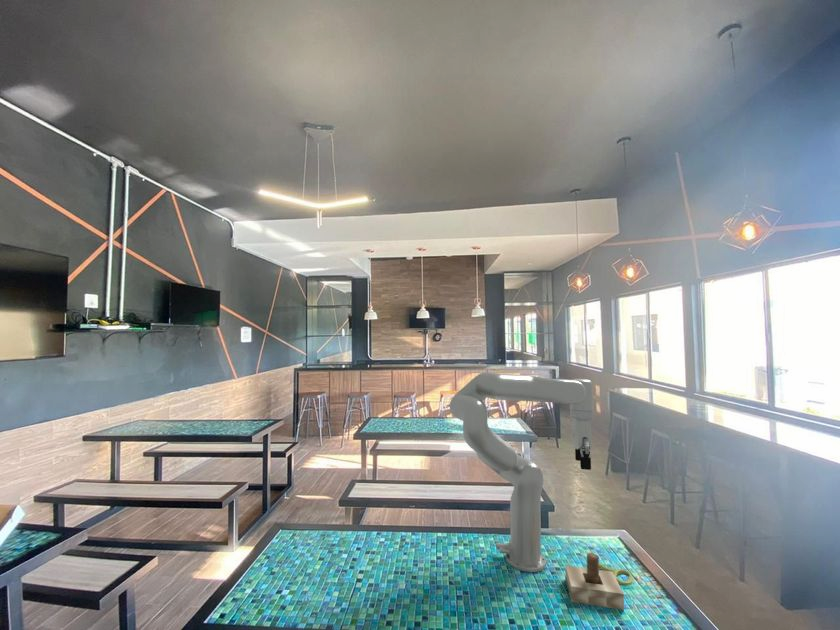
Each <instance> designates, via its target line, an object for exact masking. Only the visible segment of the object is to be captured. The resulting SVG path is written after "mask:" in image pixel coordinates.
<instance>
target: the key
mask: <svg viewBox="0 0 840 630" xmlns="http://www.w3.org/2000/svg"><path fill="white" fill-rule="evenodd" d="M599 570H603V571H610V572H613V573H614V575H615V578H616V580H617V582H618V584H619V585H623V586H629V584H630V585H632V583H633V582H634V577H633V575H632V573H631V572H630V571H628V570H627V569H626V570H625V569H622V568H621V569H620V568H618V569H616V570H615V569H614V568H609V567H608V566H605V565H604V564H601V563H599ZM624 573H625V575H627V574H628V575H629V576H628V575H627V576H628V577H630V578H628V580H627V581H625V580H620V579H619V578H618V576H619V575H620V574H624ZM632 581H633V582H632Z"/></svg>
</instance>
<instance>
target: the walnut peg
mask: <svg viewBox="0 0 840 630" xmlns="http://www.w3.org/2000/svg"><path fill="white" fill-rule="evenodd" d="M599 559H600V557H599V555H598V554H596V553H593V552H588V553H587V554H586V568H587V583H593V584H599V570H600V568H599V564H600V560H599Z"/></svg>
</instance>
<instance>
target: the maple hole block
mask: <svg viewBox="0 0 840 630" xmlns="http://www.w3.org/2000/svg"><path fill="white" fill-rule="evenodd" d="M564 568H565V570H564V572H565V577H564V578H565V582H566V586H567V590H568V593H569V594H568V595H569V598H570V600H571V602H572V603H576V604H583V605H590V606H595V607H601V608H602V607H603V608H608V609H615V610H621V611H624V610H625V594H624V591H623V590H622V588H621V586H620V584H619V583H618V582H617V580H616V578H615V575H614V573H613V572H610V571H604V570H602V569H599V584H593V583H587V567H580V566H572V565H567V564H566V565H564Z"/></svg>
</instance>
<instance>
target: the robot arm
mask: <svg viewBox="0 0 840 630" xmlns="http://www.w3.org/2000/svg"><path fill="white" fill-rule="evenodd" d="M593 391H594V390H593V382H592V380H590V379H587V378H572V379H568V378H567V379H566V378H546V377H540V376H536V375H527V374H514V373H513V374H510V373H509V374H508V373H498V372H497V373H495V372H489V371H488V372H487V371H483V372H481V373H478V374H477V375H476V376H475V377H474V378H472V379H471V380H470V381H469V382H468V383H467V384H465V385H464V386H463V387H462V388H461V389H460V390H458V391H457V392H456V393H455V394H454V395H453V396H452V398H451V400H450V403H449V410H450V412H451V414H452V415H453V416H454V418H456V419H458V420H460V421H462V431H463V433H462V434H463V438H464V440H465V443H466V445H468V446H469V448H471V449H472V450H473V451H474V452H475V453H476V455H477V457H478V459H479V461H481V462H482V463H483V464H484V465H486V466H487V467H488V468H490V469H491V471H494V473H496V474H497V475H499V476H500V477H501V478H502V479H504V480H505V481H507V482H508V483H509V484H511V485H513V490H512V493H511V496H510V500H509V502H510V503H509V505H510V507H509V509H510V513H509V516H510V517H509V519H510V521H509V522H510V526H509V527H510V532H509V534H510V537H509V541H508V542H506V543H502V542H496V550H499V553H500V554H505V560H506V562H507V563H508V564H509V566H510V567H512V568H513V569H516V570H519V571H521V572H527V573H537V572H541V571H542V570H544V569H546V566H547V559H546V557H545V556H544V555H543V553H542V533H541V532H542V526H541V525H542V521H541V507H542V506H541V505H542V504H541V498H542V492H543V491H542V490H543V486H544V474H543V472H542V470H541V468H540V467H539V466H538V465H537V464H536V463H534V462H533V461H531V460H529V458H525V457H523V456H521V455H519V454H517V452H516V450H515V449H514V448H513V446H511V444H509V442H507V441H505V440H504V439H502V437H500V436H499V435H498V434H497V433H496V432H494V430H492V429H491V428H490V427H489V425H488V416H489V413H488V408H487V405H486V403H485V402H484V400H485V399H487V398H488V399H492V400H498V401H520V402H521V401H522V402H535V403H551V404H552V403H553V404H569V418H570V419H571V420H572V425H571V429H572V430H571V443H572V445H573V447H574V451H575V453H574V456H575V458H574V459H575V461H577V462H580V469H581V470H584V471H585V470H587V471H591V470H592V459H591V450H592V426H591V421H594V394H593V393H594V392H593Z"/></svg>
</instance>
